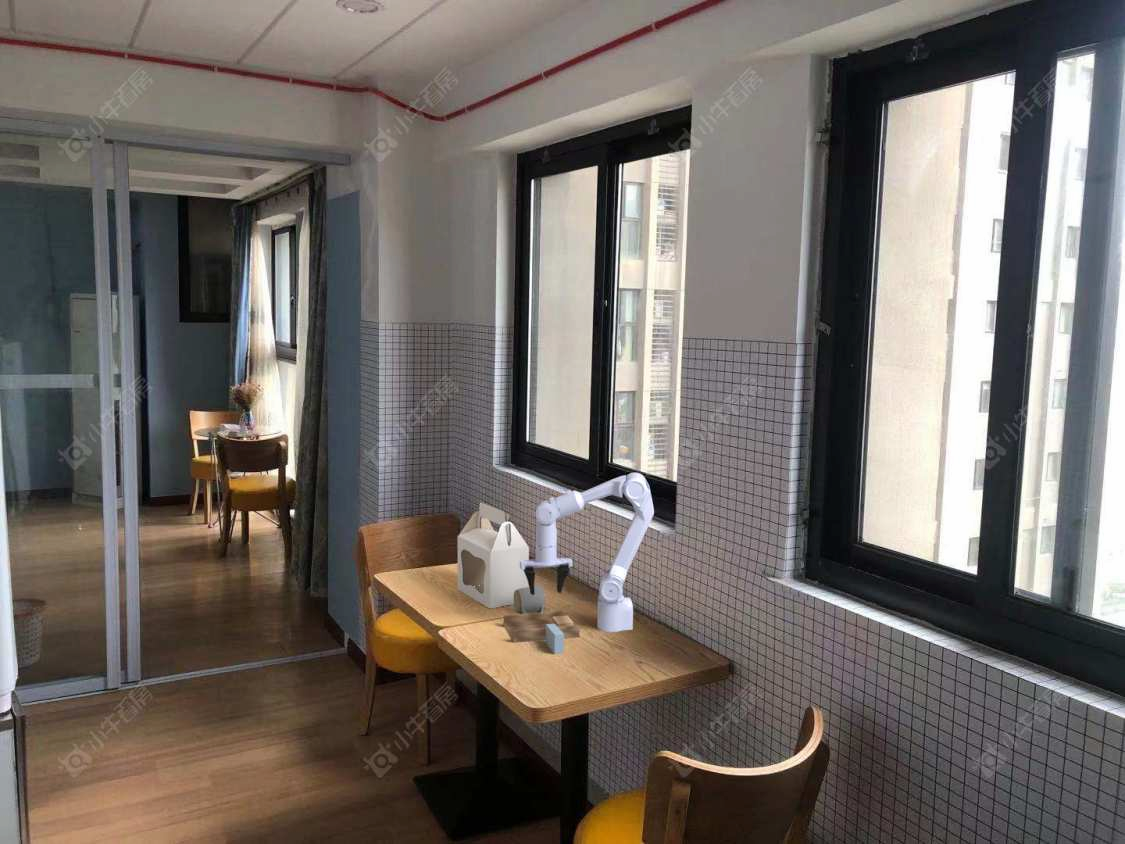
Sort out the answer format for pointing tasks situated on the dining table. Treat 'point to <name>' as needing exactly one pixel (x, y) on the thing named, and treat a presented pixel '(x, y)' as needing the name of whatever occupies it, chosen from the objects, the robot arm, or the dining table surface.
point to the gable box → (491, 558)
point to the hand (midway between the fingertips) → (545, 592)
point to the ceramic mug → (529, 600)
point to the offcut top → (562, 621)
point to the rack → (535, 626)
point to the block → (554, 639)
